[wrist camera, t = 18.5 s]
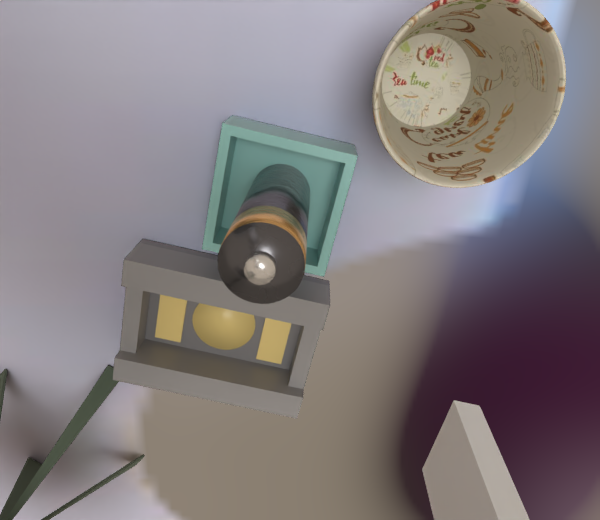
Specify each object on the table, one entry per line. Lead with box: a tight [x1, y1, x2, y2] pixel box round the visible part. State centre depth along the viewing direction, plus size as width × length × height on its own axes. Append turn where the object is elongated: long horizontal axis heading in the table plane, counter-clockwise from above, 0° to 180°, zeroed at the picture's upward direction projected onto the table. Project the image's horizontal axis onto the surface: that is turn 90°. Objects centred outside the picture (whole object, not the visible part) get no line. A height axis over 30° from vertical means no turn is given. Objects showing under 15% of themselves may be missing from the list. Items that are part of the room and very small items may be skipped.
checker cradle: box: [113, 239, 330, 418], centre depth 36 cm, size 10×14×4 cm
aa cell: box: [217, 164, 310, 304], centre depth 28 cm, size 4×4×13 cm
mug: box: [372, 0, 566, 188], centre depth 25 cm, size 8×13×10 cm, turn 176°
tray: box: [202, 115, 358, 277], centre depth 32 cm, size 8×8×4 cm
